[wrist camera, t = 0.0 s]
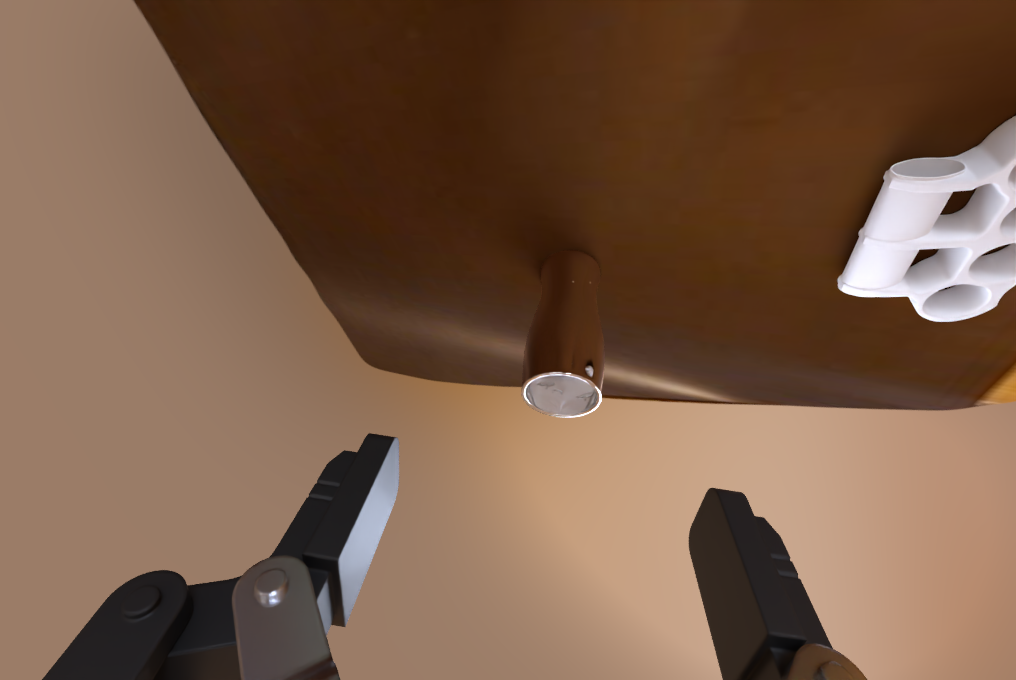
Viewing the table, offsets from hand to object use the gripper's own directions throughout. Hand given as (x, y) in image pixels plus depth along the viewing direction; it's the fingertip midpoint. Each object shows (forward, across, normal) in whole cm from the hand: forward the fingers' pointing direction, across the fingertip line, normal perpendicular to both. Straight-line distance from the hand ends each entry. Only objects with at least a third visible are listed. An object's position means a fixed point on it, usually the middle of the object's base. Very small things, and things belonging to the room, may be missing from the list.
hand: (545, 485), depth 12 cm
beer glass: (+37, -2, +8) cm, 38 cm away
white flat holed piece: (+33, -32, -3) cm, 46 cm away
